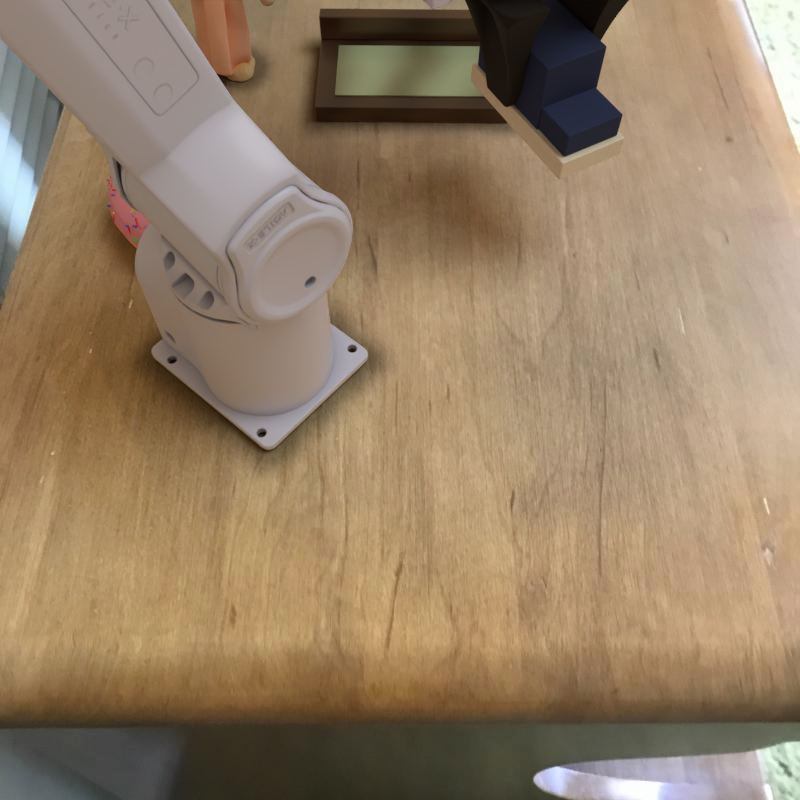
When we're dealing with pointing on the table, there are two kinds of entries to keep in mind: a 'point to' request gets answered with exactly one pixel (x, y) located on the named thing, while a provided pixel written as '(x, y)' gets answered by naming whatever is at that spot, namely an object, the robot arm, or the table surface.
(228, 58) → the grandmother figurine
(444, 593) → the table surface
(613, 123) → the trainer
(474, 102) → the brown tray with backboard
